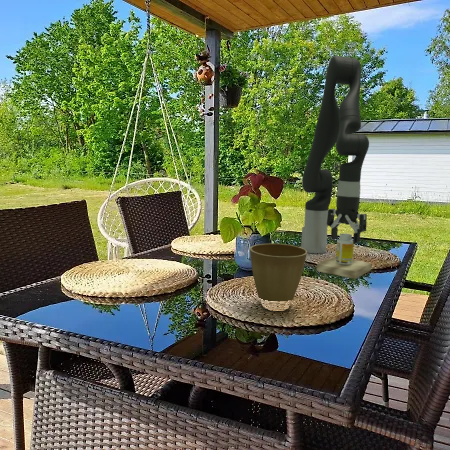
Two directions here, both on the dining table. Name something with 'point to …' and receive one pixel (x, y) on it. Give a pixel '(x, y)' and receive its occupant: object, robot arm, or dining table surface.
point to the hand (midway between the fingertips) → (344, 241)
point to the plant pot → (277, 270)
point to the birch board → (344, 268)
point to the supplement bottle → (344, 249)
